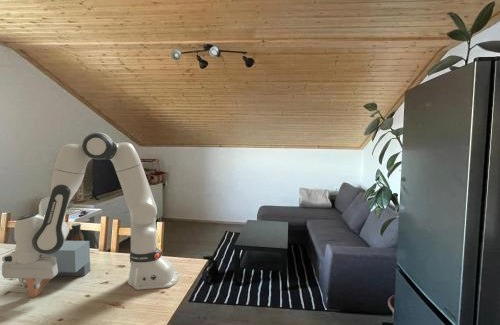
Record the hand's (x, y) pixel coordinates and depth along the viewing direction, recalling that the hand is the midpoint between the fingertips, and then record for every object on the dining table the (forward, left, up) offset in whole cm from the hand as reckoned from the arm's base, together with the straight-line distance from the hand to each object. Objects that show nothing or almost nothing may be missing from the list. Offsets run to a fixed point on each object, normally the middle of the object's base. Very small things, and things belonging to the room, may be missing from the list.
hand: (31, 287), depth 120 cm
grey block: (-2, -18, -4) cm, 19 cm away
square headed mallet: (0, -7, -3) cm, 7 cm away
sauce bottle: (+1, -35, -4) cm, 35 cm away
